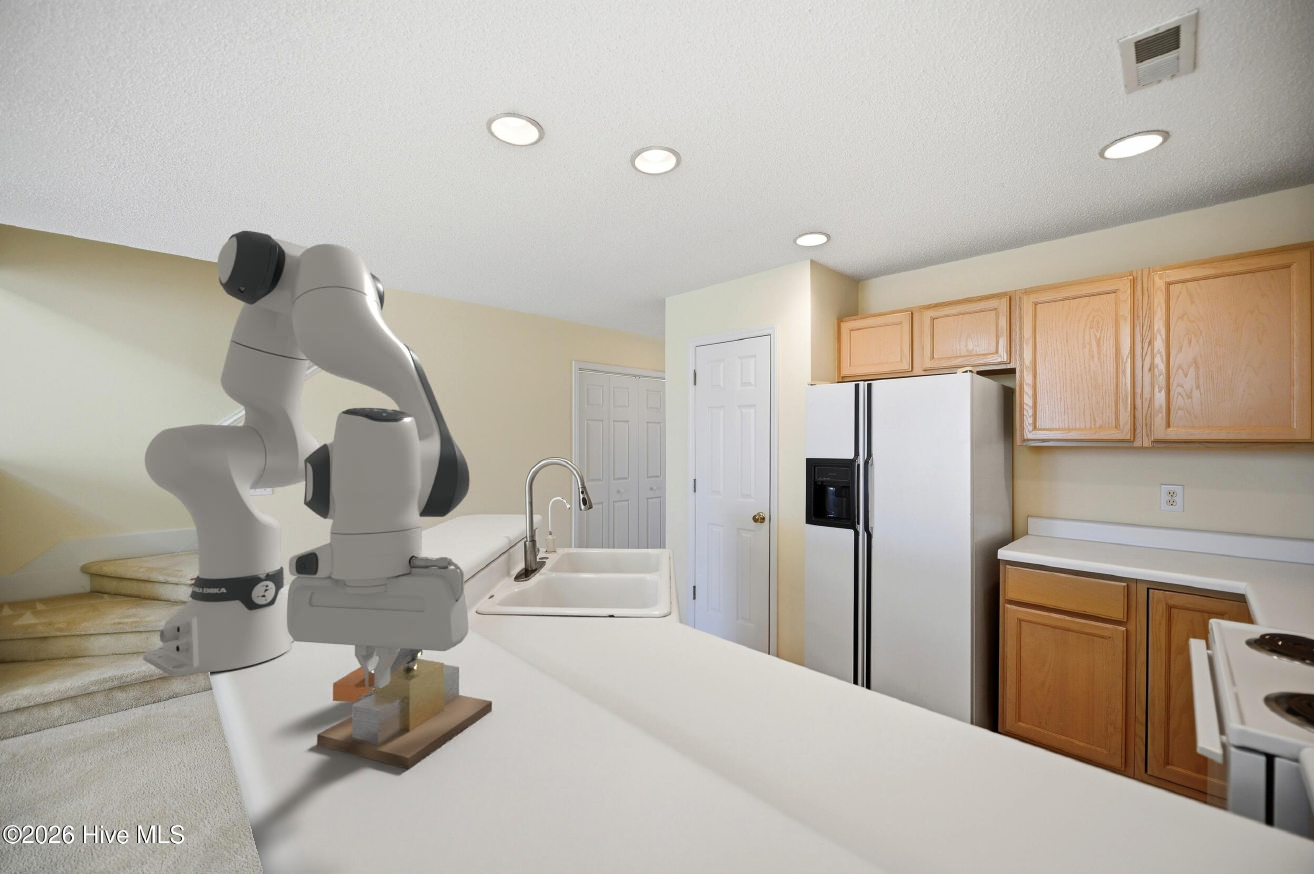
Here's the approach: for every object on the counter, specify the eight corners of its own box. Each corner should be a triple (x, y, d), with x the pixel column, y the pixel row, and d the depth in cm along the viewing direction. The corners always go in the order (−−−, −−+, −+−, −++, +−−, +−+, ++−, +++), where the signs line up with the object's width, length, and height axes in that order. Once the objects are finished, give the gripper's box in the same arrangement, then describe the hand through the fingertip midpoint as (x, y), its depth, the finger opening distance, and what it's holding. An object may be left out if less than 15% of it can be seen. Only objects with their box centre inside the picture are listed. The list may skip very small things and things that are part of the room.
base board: (317, 744, 63) (317, 734, 63) (410, 693, 76) (410, 685, 76) (408, 769, 58) (408, 757, 58) (491, 710, 71) (491, 701, 71)
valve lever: (406, 652, 69) (406, 638, 69) (426, 653, 68) (426, 639, 69) (331, 700, 56) (331, 683, 56) (356, 702, 55) (356, 684, 55)
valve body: (347, 738, 62) (347, 675, 62) (431, 691, 74) (431, 638, 74) (383, 747, 60) (383, 682, 60) (463, 697, 72) (463, 643, 72)
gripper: (479, 552, 59) (480, 680, 58) (324, 549, 63) (323, 668, 63) (444, 563, 53) (445, 706, 52) (275, 559, 57) (274, 690, 57)
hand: (377, 685), depth 58 cm, fingers closed
